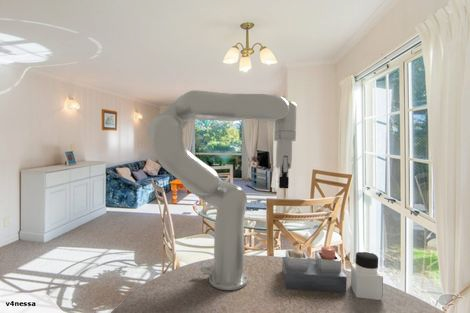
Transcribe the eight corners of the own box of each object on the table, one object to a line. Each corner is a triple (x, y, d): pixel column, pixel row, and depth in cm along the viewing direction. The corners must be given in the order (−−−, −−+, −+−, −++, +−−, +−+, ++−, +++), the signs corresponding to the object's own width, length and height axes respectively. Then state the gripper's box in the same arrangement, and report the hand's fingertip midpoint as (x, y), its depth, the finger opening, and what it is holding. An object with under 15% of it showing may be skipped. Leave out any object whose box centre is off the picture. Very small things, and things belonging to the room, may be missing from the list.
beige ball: (290, 266, 84) (290, 254, 84) (289, 261, 88) (289, 249, 88) (304, 267, 84) (304, 255, 84) (301, 261, 88) (302, 249, 88)
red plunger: (322, 263, 83) (323, 251, 83) (319, 258, 87) (320, 246, 87) (336, 264, 83) (336, 251, 83) (332, 258, 87) (333, 246, 87)
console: (285, 289, 81) (285, 261, 80) (282, 270, 93) (282, 246, 92) (346, 293, 79) (346, 264, 79) (335, 273, 91) (335, 249, 91)
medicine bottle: (382, 301, 75) (384, 259, 75) (355, 297, 77) (357, 257, 76) (374, 287, 82) (375, 250, 82) (350, 285, 84) (351, 248, 83)
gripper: (273, 137, 102) (272, 184, 102) (275, 135, 87) (273, 191, 87) (293, 137, 101) (292, 185, 101) (298, 136, 86) (296, 191, 87)
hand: (283, 187), depth 94 cm, fingers closed
